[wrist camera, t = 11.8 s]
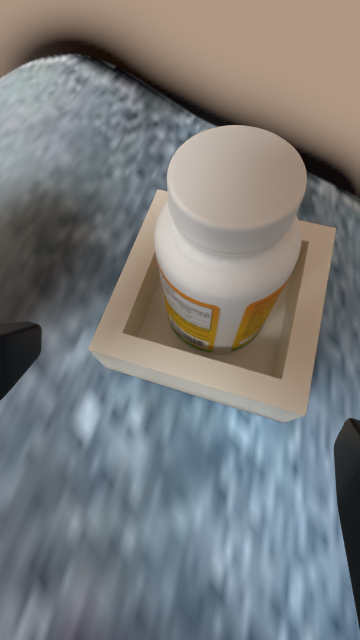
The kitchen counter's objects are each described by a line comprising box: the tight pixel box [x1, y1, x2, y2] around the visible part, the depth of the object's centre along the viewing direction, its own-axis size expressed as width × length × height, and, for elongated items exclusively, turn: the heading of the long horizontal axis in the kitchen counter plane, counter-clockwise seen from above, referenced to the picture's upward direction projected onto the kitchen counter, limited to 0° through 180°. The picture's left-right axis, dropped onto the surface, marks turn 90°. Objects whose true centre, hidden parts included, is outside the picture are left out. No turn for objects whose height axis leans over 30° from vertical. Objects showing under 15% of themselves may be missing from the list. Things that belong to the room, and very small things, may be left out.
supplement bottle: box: [154, 125, 307, 355], centre depth 14 cm, size 5×5×10 cm
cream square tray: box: [88, 190, 336, 423], centre depth 17 cm, size 10×10×4 cm
